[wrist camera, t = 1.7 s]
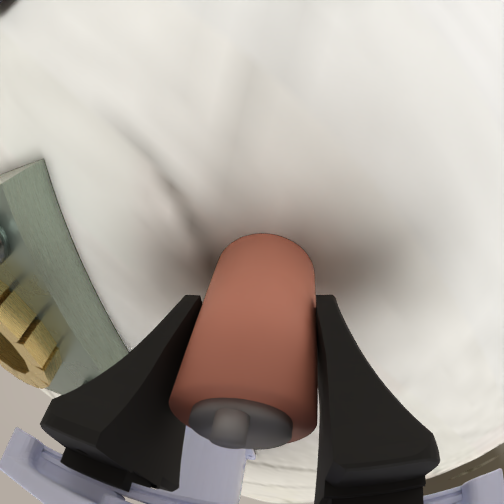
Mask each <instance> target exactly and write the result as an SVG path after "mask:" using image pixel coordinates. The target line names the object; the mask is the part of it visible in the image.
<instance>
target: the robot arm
mask: <svg viewBox="0 0 504 504" xmlns="http://www.w3.org/2000/svg"><path fill="white" fill-rule="evenodd" d="M201 307H202V301H201V297H200V295H185V296H184V297H183V299H182V300H181V301H180V302H179V303H178V304H177V305H176V306H175V307H174V308H173V309H172V310H171V311H170V313H169V314H168V315H167V316H166V317H165V318H164V319H163V320H162V321H161V322H160V323H159V324H158V325H157V326H156V328H155V329H154V330H153V331H152V332H151V333H150V334H149V335H148V336H147V337H146V338H145V339H144V340H142V341H141V342H140V343H139V344H138V345H137V346H136V347H135V348H134V349H133V350H132V351H131V352H129V353H128V354H127V355H126V356H125V357H123V358H122V359H121V360H120V361H118V362H117V363H116V364H114V365H113V366H112V367H110V368H109V369H107V370H106V371H104V372H103V373H101V374H100V375H99V376H97V377H95V378H94V379H92V380H91V381H89V382H87V383H85V384H84V385H82V386H80V387H78V388H76V389H74V390H72V391H70V392H68V393H66V394H64V395H61V396H59V397H57V398H54V399H52V401H51V403H50V405H49V407H48V409H47V411H46V413H45V415H44V417H43V419H42V421H41V423H40V425H41V427H42V429H43V430H44V431H45V432H46V433H47V434H49V435H50V436H51V437H52V438H54V439H55V440H56V441H58V442H59V443H60V444H62V445H63V446H64V447H66V449H65V451H64V453H63V454H60V453H58V452H56V451H54V450H53V449H50V448H49V447H47V446H45V445H44V444H43V443H42V442H40V441H39V440H38V439H36V438H35V437H33V436H32V435H30V434H28V433H26V432H25V431H23V430H21V429H20V428H18V427H16V428H15V430H14V432H13V435H12V436H11V439H10V441H9V443H8V445H7V447H6V450H5V452H4V454H3V456H2V458H1V461H0V470H1V471H3V472H4V473H5V474H6V475H8V476H9V477H10V478H12V479H13V480H14V481H15V482H17V483H18V484H19V485H20V486H22V487H23V488H24V489H25V490H27V491H28V492H29V493H30V494H32V495H33V496H34V497H36V498H37V499H38V500H39V501H41V502H42V503H44V504H132V503H130V502H127V501H125V498H124V497H123V496H125V497H128V498H131V499H134V500H137V501H140V502H143V503H146V504H239V501H240V495H241V489H242V483H243V477H244V471H245V465H246V459H249V460H255V459H256V455H255V452H254V450H253V449H242V448H241V449H229V448H224V447H220V446H217V445H215V444H213V443H211V442H210V441H209V440H208V439H206V438H204V437H202V436H200V435H199V434H197V433H196V432H195V431H194V430H192V428H190V427H188V426H187V425H185V424H184V423H182V422H181V421H180V420H179V419H178V418H177V417H176V416H175V415H174V414H173V413H172V411H171V409H170V407H169V399H170V395H171V393H172V390H173V387H174V384H175V381H176V378H177V375H178V372H179V369H180V366H181V363H182V360H183V357H184V354H185V352H186V349H187V346H188V343H189V340H190V337H191V335H192V332H193V329H194V326H195V323H196V320H197V318H198V315H199V312H200V309H201ZM316 329H317V366H318V393H319V405H320V426H319V449H318V466H317V479H316V491H315V501H314V504H504V479H503V473H502V469H497V470H495V471H492V472H490V473H487V474H484V475H482V476H479V477H476V478H474V479H472V480H469V481H467V482H466V483H464V484H463V485H462V486H459V487H456V488H452V489H449V490H445V491H442V492H438V493H434V494H430V495H426V496H423V486H425V484H426V482H425V475H426V474H428V473H429V472H430V471H432V470H433V469H434V468H436V467H437V466H438V464H439V463H440V456H439V450H438V447H437V444H436V441H435V438H434V435H433V433H432V432H430V431H429V430H428V429H427V428H426V427H425V426H423V425H422V424H421V423H420V422H419V421H418V420H417V419H416V418H415V417H414V416H413V415H412V414H411V413H410V412H409V411H408V410H407V409H406V408H405V407H404V406H403V405H402V404H401V403H400V402H399V401H398V400H397V398H396V397H395V396H394V395H393V394H392V393H391V392H390V390H389V389H388V388H387V387H386V386H385V384H384V383H383V382H382V381H381V379H380V378H379V377H378V375H377V374H376V373H375V371H374V370H373V368H372V367H371V366H370V364H369V363H368V361H367V360H366V358H365V357H364V355H363V353H362V352H361V350H360V348H359V347H358V345H357V343H356V342H355V340H354V338H353V336H352V334H351V332H350V331H349V329H348V327H347V325H346V323H345V321H344V318H343V316H342V314H341V312H340V309H339V307H338V304H337V302H336V298H335V297H334V296H333V295H316ZM151 487H152V488H155V489H156V490H155V489H152V488H151Z"/></svg>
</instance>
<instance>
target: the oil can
mask: <svg viewBox="0 0 504 504" xmlns="http://www.w3.org/2000/svg"><path fill="white" fill-rule="evenodd" d="M317 404H318V366H317V329H316V295H315V275H314V268H313V264H312V262H311V260H310V258H309V256H308V255H307V253H306V252H305V251H304V250H303V249H302V248H301V247H300V246H298V245H297V244H296V243H294V242H292V241H290V240H289V239H286V238H284V237H281V236H277V235H272V234H252V235H248V236H244V237H242V238H239V239H237V240H235V241H234V242H232V243H231V244H230V245H228V246H227V247H226V248H225V250H224V251H223V252H222V254H221V256H220V258H219V260H218V263H217V266H216V268H215V271H214V274H213V276H212V279H211V282H210V285H209V287H208V290H207V293H206V295H205V298H204V301H203V304H202V307H201V309H200V312H199V315H198V318H197V320H196V323H195V326H194V329H193V332H192V335H191V337H190V340H189V343H188V346H187V349H186V352H185V354H184V357H183V360H182V363H181V366H180V369H179V372H178V375H177V378H176V381H175V384H174V387H173V390H172V393H171V395H170V399H169V407H170V409H171V411H172V413H173V414H174V415H175V416H176V417H177V418H178V419H179V420H180V421H181V422H182V423H184V424H185V425H187V426H188V427H190V428H192V430H194V431H195V432H196V433H197V434H199V435H200V436H202V437H204V438H206V439H208V440H209V441H210V442H211V443H213V444H215V445H217V446H220V447H224V448H229V449H241V448H242V449H270V448H275V447H279V446H282V445H284V444H286V443H291V442H294V441H297V440H300V439H302V438H304V437H306V436H308V435H309V434H311V433H312V432H313V431H314V429H315V428H316V426H317Z"/></svg>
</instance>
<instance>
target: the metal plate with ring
mask: <svg viewBox="0 0 504 504" xmlns="http://www.w3.org/2000/svg"><path fill="white" fill-rule="evenodd" d="M128 353H129V352H128V351H127V349H126V347H125V346H124V344H123V342H122V340H121V339H120V337H119V335H118V334H117V332H116V330H115V328H114V326H113V325H112V323H111V321H110V319H109V317H108V315H107V314H106V312H105V310H104V308H103V306H102V304H101V302H100V300H99V298H98V296H97V294H96V292H95V290H94V288H93V286H92V284H91V282H90V280H89V278H88V276H87V273H86V271H85V269H84V267H83V265H82V263H81V260H80V258H79V256H78V253H77V251H76V249H75V246H74V244H73V242H72V239H71V237H70V234H69V232H68V229H67V227H66V224H65V222H64V219H63V216H62V214H61V211H60V208H59V205H58V203H57V200H56V197H55V194H54V191H53V188H52V185H51V182H50V179H49V176H48V172H47V169H46V166H45V162H44V159H42V160H39V161H36V162H33V163H30V164H28V165H25V166H22V167H20V168H17V169H14V170H12V171H9V172H7V173H4V174H2V175H0V364H1V366H2V367H3V368H4V369H6V370H7V371H9V372H10V373H11V374H13V375H14V376H15V377H17V378H18V379H21V380H22V381H23V382H25V383H27V384H29V385H32V386H34V387H37V388H41V389H43V388H45V389H48V390H51V391H53V392H56V393H59V394H61V395H64V394H66V393H68V392H70V391H72V390H74V389H76V388H78V387H80V386H82V385H84V384H85V383H87V382H89V381H91V380H92V379H94V378H95V377H97V376H99V375H100V374H101V373H103V372H104V371H106V370H107V369H109V368H110V367H112V366H113V365H114V364H116V363H117V362H118V361H120V360H121V359H122V358H123V357H125V356H126V355H127V354H128Z"/></svg>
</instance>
